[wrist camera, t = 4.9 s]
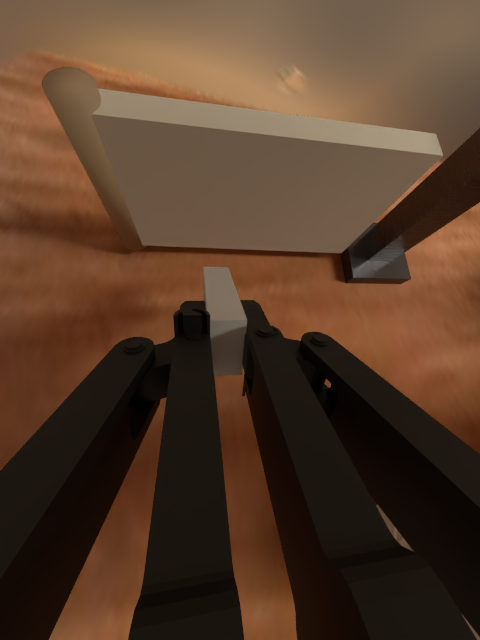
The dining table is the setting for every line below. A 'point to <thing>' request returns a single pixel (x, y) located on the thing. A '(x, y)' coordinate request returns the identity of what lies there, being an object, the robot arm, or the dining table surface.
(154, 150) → the gate panel
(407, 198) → the gate post
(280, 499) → the robot arm
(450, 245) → the dining table surface
